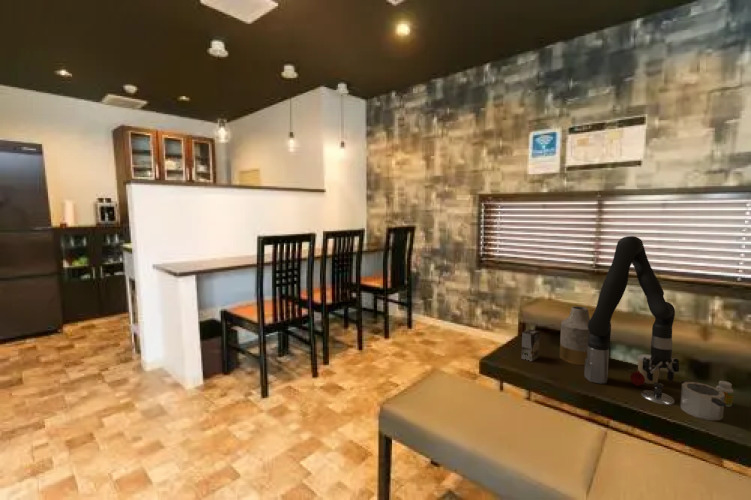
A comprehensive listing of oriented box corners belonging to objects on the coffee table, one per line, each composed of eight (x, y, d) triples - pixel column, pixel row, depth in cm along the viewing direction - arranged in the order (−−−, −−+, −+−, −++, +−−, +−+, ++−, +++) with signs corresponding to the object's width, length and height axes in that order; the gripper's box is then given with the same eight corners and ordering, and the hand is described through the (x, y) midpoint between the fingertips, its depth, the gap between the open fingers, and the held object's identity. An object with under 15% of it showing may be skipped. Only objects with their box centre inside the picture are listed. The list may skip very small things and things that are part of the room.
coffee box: (531, 362, 202) (532, 335, 201) (521, 358, 207) (521, 332, 205) (538, 357, 209) (539, 331, 207) (528, 354, 213) (528, 328, 212)
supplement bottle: (728, 408, 153) (730, 386, 152) (712, 402, 158) (714, 381, 157) (734, 405, 155) (736, 384, 154) (718, 399, 160) (720, 379, 159)
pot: (738, 425, 140) (740, 401, 139) (703, 424, 141) (705, 400, 140) (698, 400, 159) (700, 379, 158) (667, 399, 160) (669, 378, 159)
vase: (557, 360, 204) (559, 309, 200) (561, 350, 219) (563, 302, 215) (594, 368, 193) (597, 314, 190) (596, 356, 208) (599, 306, 205)
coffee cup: (663, 385, 173) (665, 362, 172) (642, 384, 175) (643, 361, 174) (653, 377, 182) (654, 354, 181) (632, 375, 184) (634, 353, 183)
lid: (652, 405, 157) (654, 390, 156) (635, 391, 168) (636, 377, 168) (681, 405, 156) (682, 391, 155) (661, 391, 168) (662, 378, 167)
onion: (645, 389, 169) (646, 374, 168) (630, 386, 172) (631, 371, 171) (643, 384, 174) (644, 369, 173) (629, 382, 177) (630, 366, 176)
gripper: (650, 349, 156) (649, 384, 158) (684, 348, 155) (683, 384, 157) (639, 343, 164) (638, 376, 165) (671, 342, 163) (670, 376, 164)
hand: (660, 380), depth 161 cm, fingers open, 8 cm apart
